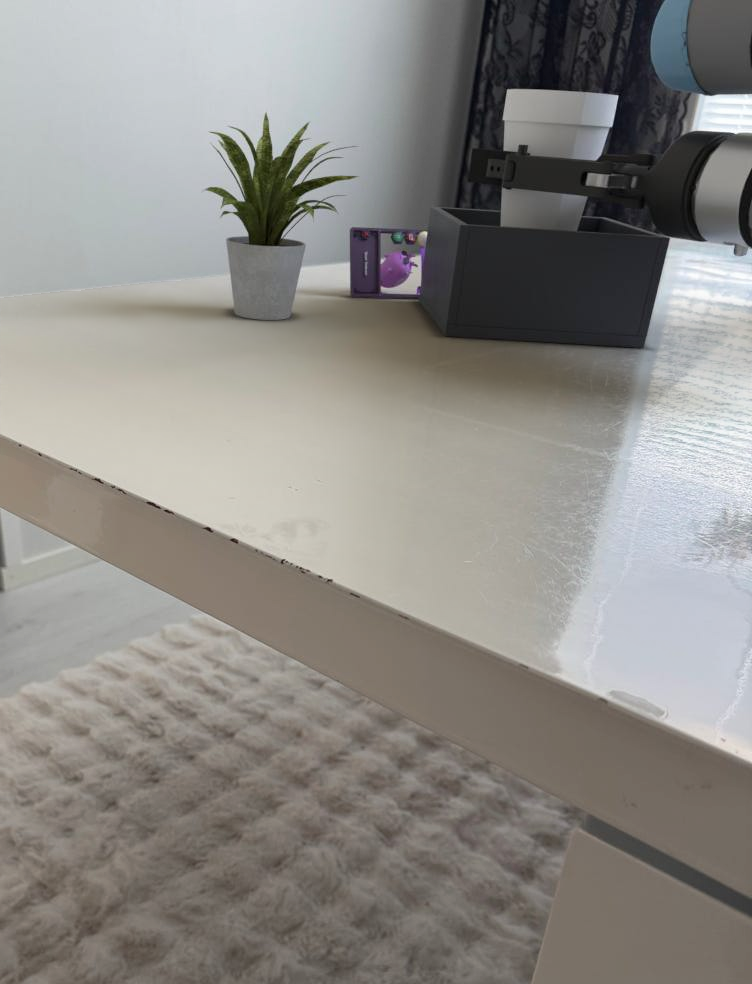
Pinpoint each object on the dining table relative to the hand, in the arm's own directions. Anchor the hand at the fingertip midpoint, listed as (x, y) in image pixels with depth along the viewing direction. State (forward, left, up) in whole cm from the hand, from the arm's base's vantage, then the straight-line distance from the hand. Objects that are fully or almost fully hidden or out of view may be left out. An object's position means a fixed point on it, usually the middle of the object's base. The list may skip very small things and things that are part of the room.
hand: (514, 166), depth 88 cm
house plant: (+23, +9, -13) cm, 28 cm away
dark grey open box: (-2, +4, -13) cm, 14 cm away
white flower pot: (-2, +4, -7) cm, 8 cm away
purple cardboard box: (+10, -8, -13) cm, 18 cm away
